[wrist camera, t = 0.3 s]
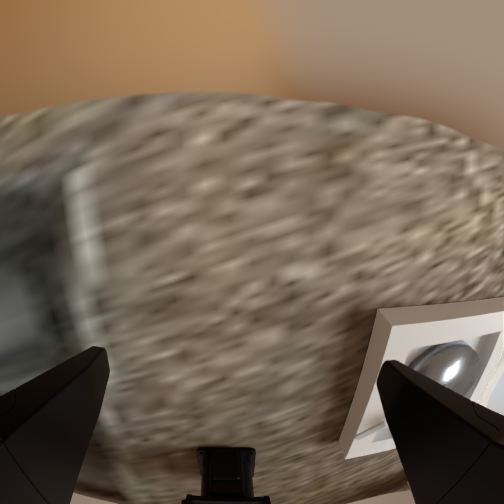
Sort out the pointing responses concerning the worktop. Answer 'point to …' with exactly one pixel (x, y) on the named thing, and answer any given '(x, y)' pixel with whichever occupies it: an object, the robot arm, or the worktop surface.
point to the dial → (449, 365)
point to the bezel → (408, 349)
